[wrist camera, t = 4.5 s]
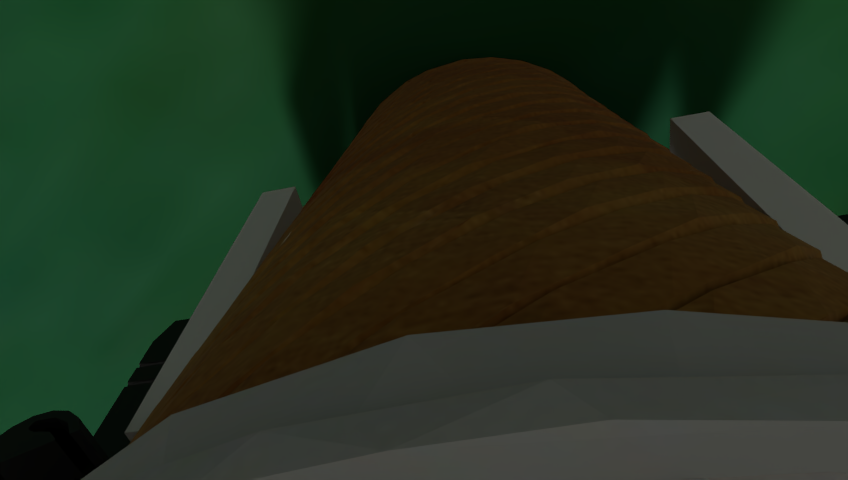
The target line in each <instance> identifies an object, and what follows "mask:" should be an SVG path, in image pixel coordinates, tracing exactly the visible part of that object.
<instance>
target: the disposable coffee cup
mask: <svg viewBox="0 0 848 480" xmlns="http://www.w3.org/2000/svg"><path fill="white" fill-rule="evenodd" d="M81 480H848V272H846V271H844V270H843V269H841V268H839V267H837V266H835V265H833V264H832V263H830V262H828V261H826V260H824V259H823V258H822V254H821V251H820V250H819V249H817V248H815V247H813V246H811V245H809V244H808V243H806V242H804V241H802V240H800V239H798V238H797V237H795V236H793V235H791V234H789V233H787V232H786V231H784V230H782V229H780V228H779V226H778V223H777V221H776V220H774V219H772V218H770V217H768V216H767V215H765V214H763V213H761V212H759V211H758V210H756V209H754V208H752V207H750V206H748V205H747V204H745V203H744V202H743V200H742V198H741V197H740V196H738V195H736V194H735V193H733V192H731V191H729V190H727V189H725V188H724V187H722V186H720V185H718V184H716V183H715V182H714V180H713V179H712V177H710V176H708V175H707V174H705V173H703V172H701V171H699V170H698V169H696V168H694V167H692V165H691V164H690V163H688V162H686V161H685V160H683V159H681V158H680V157H678V156H676V155H674V154H673V153H671V152H670V150H669V149H668V148H666V147H664V146H663V145H661V144H659V143H657V142H656V141H654V140H652V139H651V138H650V137H649V136H648V135H647V133H645V132H643V131H641V130H639V129H637V128H636V127H634V126H633V125H632V124H630V123H629V122H627V121H625V120H623V119H622V118H620V117H619V115H617V114H615V113H614V112H612V111H610V110H609V109H607V108H606V107H605V106H604V105H602V104H600V103H599V102H597V101H596V100H594V99H592V98H591V97H589V96H587V95H586V94H585V93H584V92H582V91H581V90H580V89H578V88H577V87H576V86H575V85H573V84H572V83H571V82H569V81H568V80H566V79H564V78H562V77H561V76H559V75H557V74H556V73H554V72H552V71H551V70H548V69H545V68H542V67H539V66H536V65H533V64H530V63H527V62H524V61H520V60H512V59H504V58H495V57H487V58H475V59H463V60H459V61H456V62H453V63H449V64H446V65H443V66H440V67H437V68H434V69H430V70H427V71H426V72H424V73H422V74H420V75H418V76H416V77H414V78H412V79H410V80H408V81H406V82H405V83H404V84H403V85H402V86H400V87H399V88H398V89H397V90H396V91H394V92H393V93H392V94H391V95H390V96H388V97H387V98H386V99H385V100H384V101H383V102H382V103H380V105H379V106H378V107H377V109H376V110H375V111H374V113H373V114H372V115H371V116H370V118H369V119H368V120H367V121H366V123H365V124H364V126H363V128H362V129H361V130H360V132H359V133H358V134H357V136H356V137H355V138H354V140H353V141H352V143H351V144H350V145H349V147H348V148H347V149H346V151H345V152H344V153H343V155H342V156H341V158H340V159H339V160H338V162H337V163H336V164H335V166H334V167H333V169H332V170H331V171H330V173H329V174H328V175H327V176H326V178H325V179H324V181H323V182H322V183H321V184H320V186H319V187H318V188H317V190H316V191H315V192H314V193H313V195H312V197H311V198H310V199H309V201H308V202H307V203H306V205H305V206H304V207H303V208H302V210H301V212H300V213H299V214H298V216H297V217H296V218H295V220H294V221H293V222H292V224H291V225H290V226H289V227H288V228H287V230H286V231H285V232H284V234H283V235H282V237H281V238H280V240H279V241H278V242H277V244H276V245H275V247H274V248H273V249H272V250H271V251H270V253H269V254H268V255H267V257H266V258H265V259H264V261H263V262H262V264H261V265H260V266H259V268H258V269H257V270H256V272H255V273H254V275H253V276H252V277H251V279H250V280H249V281H248V283H247V284H246V286H245V287H244V288H243V290H242V291H241V292H240V294H239V295H238V297H237V298H236V299H235V301H234V302H233V303H232V305H231V306H230V308H229V309H228V310H227V312H226V313H225V315H224V316H223V317H222V319H221V320H220V321H219V323H218V324H217V325H216V327H215V328H214V329H213V331H212V332H211V333H210V335H209V336H208V338H207V339H206V340H205V342H204V343H203V344H202V346H201V347H200V348H199V350H198V351H197V352H196V353H195V354H194V355H193V357H192V358H191V359H190V361H189V362H188V364H187V365H186V366H185V368H184V369H183V370H182V372H181V373H180V375H179V376H178V377H177V379H176V380H175V381H174V383H173V384H172V386H171V387H170V388H169V390H168V391H167V392H166V394H165V395H164V397H163V398H162V399H161V401H160V402H159V403H158V404H157V406H156V407H155V408H154V410H153V411H152V412H151V414H150V415H149V417H148V418H147V419H146V421H145V422H144V424H143V425H142V426H141V428H140V429H139V431H138V432H137V433H136V435H135V436H134V438H133V439H132V441H131V442H130V443H129V445H128V446H127V447H125V448H124V449H123V450H121V451H120V452H118V453H117V454H116V455H114V456H113V457H111V458H110V459H109V460H107V461H106V462H104V463H103V464H102V465H100V466H99V467H97V468H96V469H95V470H93V471H92V472H91V473H89V474H88V475H86V476H85V477H84V478H82V479H81Z"/></svg>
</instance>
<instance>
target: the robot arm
mask: <svg viewBox="0 0 848 480" xmlns="http://www.w3.org/2000/svg"><path fill="white" fill-rule="evenodd" d="M670 152H671V153H673V154H674V155H676V156H678V157H680V158H681V159H683V160H685V161H686V162H688V163H690V164H691V165H692V167H694V168H696V169H698V170H699V171H701V172H703V173H705V174H707V175H708V176H710V177H712V179H713V180H714V182H715V183H716V184H718V185H720V186H722V187H724V188H725V189H727V190H729V191H731V192H733V193H735V194H736V195H738V196H740V197H741V198H742V200H743V202H744V203H745V204H747V205H748V206H750V207H752V208H754V209H756V210H758V211H759V212H761V213H763V214H765V215H767V216H768V217H770V218H772V219H774V220H776V221H777V223H778V226H779V228H780V229H782V230H784V231H786V232H787V233H789V234H791V235H793V236H795V237H797V238H798V239H800V240H802V241H804V242H806V243H808V244H809V245H811V246H813V247H815V248H817V249H819V250H820V251H821V254H822V258H823V259H824V260H826V261H828V262H830V263H832V264H833V265H835V266H837V267H839V268H841V269H843V270H844V271H846V272H848V214H847V215H841V216H836V215H835V214H834V213H833V212H831V211H830V210H829V209H828V208H827V207H825V206H824V205H823V204H822V203H820V202H819V201H818V200H817V199H816V198H814V197H813V196H812V195H811V194H809V193H808V192H807V191H806V190H805V189H803V188H802V187H801V186H800V185H798V184H797V183H796V182H795V181H794V180H792V179H791V178H790V177H789V176H787V175H786V174H785V173H784V172H783V171H781V170H780V169H779V168H778V167H776V166H775V165H774V164H773V163H772V162H770V161H769V160H768V159H767V158H766V157H764V156H763V155H762V154H761V153H759V152H758V151H757V150H756V149H755V148H753V147H752V146H751V145H750V144H748V143H747V142H746V141H745V140H744V139H742V138H741V137H740V136H739V135H737V134H736V133H735V132H734V131H733V130H731V129H730V128H729V127H728V126H726V125H725V124H724V123H723V122H722V121H720V120H719V119H718V118H717V117H715V116H714V115H713V114H712V113H711V112H709V111H708V112H703V113H697V114H692V115H686V116H681V117H675V118H670ZM302 208H303V207H302V204H301V202H300V199H299V196H298V193H297V190H296V188H295V187H290V188H285V189H279V190H274V191H268V192H263V193H262V195H261V196H260V198H259V200H258V202H257V203H256V205H255V207H254V209H253V210H252V212H251V214H250V216H249V217H248V219H247V221H246V223H245V224H244V226H243V228H242V229H241V231H240V233H239V235H238V236H237V238H236V240H235V242H234V243H233V245H232V247H231V249H230V250H229V252H228V254H227V256H226V257H225V259H224V261H223V262H222V264H221V266H220V268H219V269H218V271H217V273H216V275H215V276H214V278H213V280H212V282H211V283H210V285H209V287H208V288H207V290H206V292H205V294H204V295H203V297H202V299H201V301H200V302H199V304H198V306H197V308H196V309H195V311H194V313H193V315H192V316H191V318H190V319H185V320H179V321H175V322H174V323H173V324H172V325H171V326H170V327H168V328H167V329H166V330H165V331H164V332H163V333H162V334H161V335H160V336H159V337H158V338H157V339H155V340H154V341H153V343H152V344H151V346H150V347H149V349H148V351H147V352H146V354H145V355H144V357H143V359H142V360H141V362H140V363H139V365H140V367H139V368H136V370H135V371H134V373H133V374H132V376H131V378H130V379H129V381H128V387H124V389H123V390H122V392H121V394H120V395H119V397H118V398H117V400H116V401H115V403H114V405H113V406H112V408H111V409H110V411H109V413H108V414H107V416H106V417H105V419H104V421H103V422H102V424H101V425H100V427H99V429H98V430H97V432H96V433H95V435H94V436H92V435H91V433H90V432H89V431H88V429H87V428H86V427H85V425H84V424H83V423H82V421H81V420H80V419H79V417H77V416H76V415H74V414H73V413H71V412H70V411H50V412H46V413H43V414H39V415H36V416H33V417H31V418H29V419H27V420H25V421H23V422H21V423H19V424H17V425H15V426H13V427H11V428H10V429H9V430H7V431H6V432H5V433H3V434H2V435H0V480H81V479H82V478H84V477H85V476H86V475H88V474H89V473H91V472H92V471H93V470H95V469H96V468H97V467H99V466H100V465H102V464H103V463H104V462H106V461H107V460H109V459H110V458H111V457H113V456H114V455H116V454H117V453H118V452H120V451H121V450H123V449H124V448H125V447H127V446H128V445H129V443H130V442H131V441H132V439H133V438H134V436H135V435H136V433H137V432H138V431H139V429H140V428H141V426H142V425H143V424H144V422H145V421H146V419H147V418H148V417H149V415H150V414H151V412H152V411H153V410H154V408H155V407H156V406H157V404H158V403H159V402H160V401H161V399H162V398H163V397H164V395H165V394H166V392H167V391H168V390H169V388H170V387H171V386H172V384H173V383H174V381H175V380H176V379H177V377H178V376H179V375H180V373H181V372H182V370H183V369H184V368H185V366H186V365H187V364H188V362H189V361H190V359H191V358H192V357H193V355H194V354H195V353H196V352H197V351H198V350H199V348H200V347H201V346H202V344H203V343H204V342H205V340H206V339H207V338H208V336H209V335H210V333H211V332H212V331H213V329H214V328H215V327H216V325H217V324H218V323H219V321H220V320H221V319H222V317H223V316H224V315H225V313H226V312H227V310H228V309H229V308H230V306H231V305H232V303H233V302H234V301H235V299H236V298H237V297H238V295H239V294H240V292H241V291H242V290H243V288H244V287H245V286H246V284H247V283H248V281H249V280H250V279H251V277H252V276H253V275H254V273H255V272H256V270H257V269H258V268H259V266H260V265H261V264H262V262H263V261H264V259H265V258H266V257H267V255H268V254H269V253H270V251H271V250H272V249H273V248H274V247H275V245H276V244H277V242H278V241H279V240H280V238H281V237H282V235H283V234H284V232H285V231H286V230H287V228H288V227H289V226H290V225H291V224H292V222H293V221H294V220H295V218H296V217H297V216H298V214H299V213H300V212H301V210H302Z"/></svg>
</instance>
